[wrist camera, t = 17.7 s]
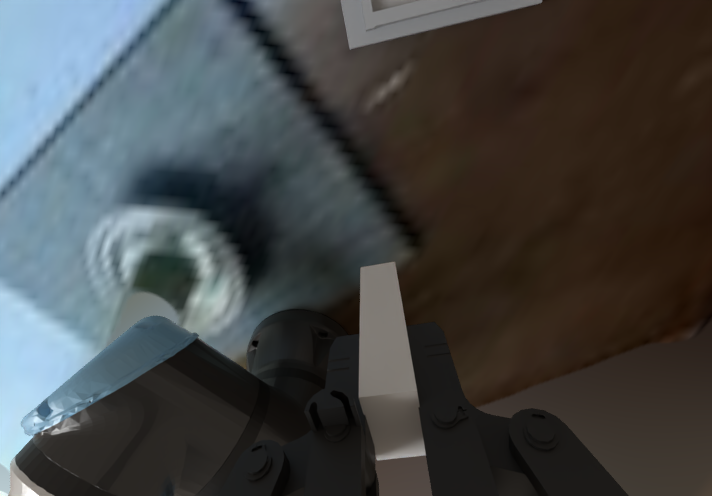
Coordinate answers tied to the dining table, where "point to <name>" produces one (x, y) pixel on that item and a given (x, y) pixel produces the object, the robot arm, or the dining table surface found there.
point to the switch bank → (415, 16)
